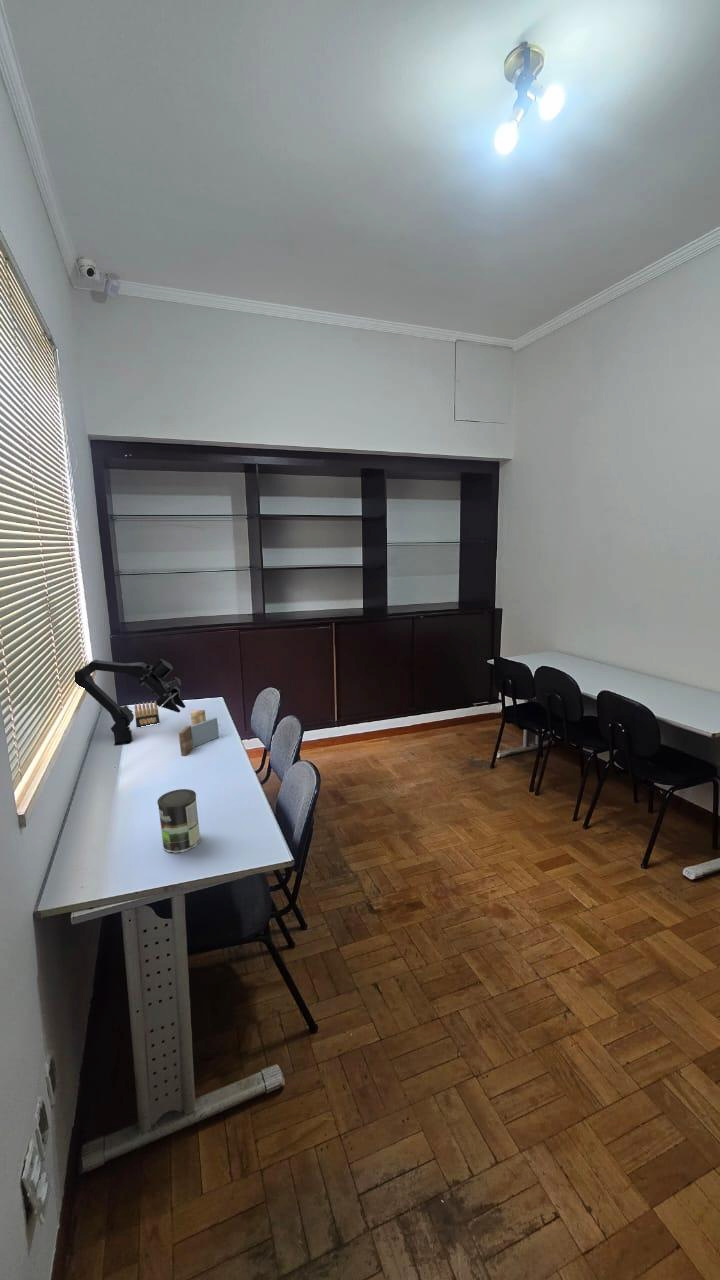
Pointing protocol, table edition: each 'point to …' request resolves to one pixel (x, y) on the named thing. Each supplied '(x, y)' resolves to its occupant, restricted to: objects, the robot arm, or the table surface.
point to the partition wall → (186, 740)
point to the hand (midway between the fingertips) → (182, 709)
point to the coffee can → (179, 820)
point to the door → (204, 731)
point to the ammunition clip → (146, 714)
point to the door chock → (198, 716)
